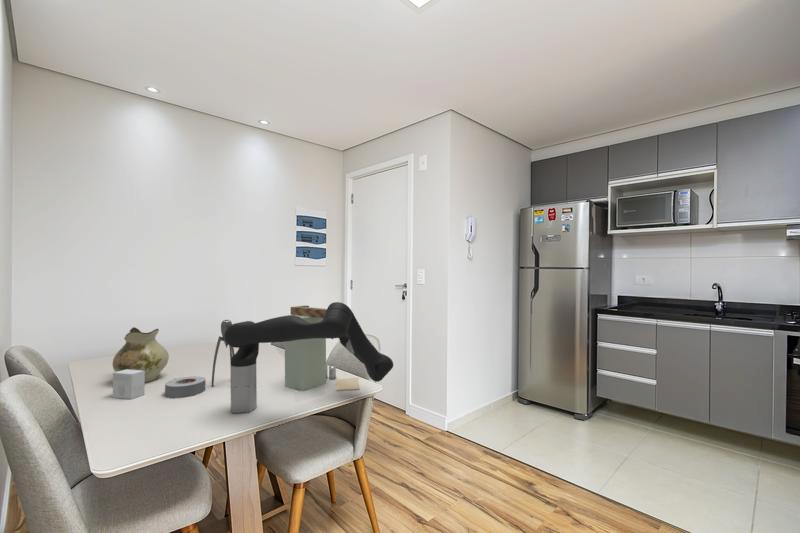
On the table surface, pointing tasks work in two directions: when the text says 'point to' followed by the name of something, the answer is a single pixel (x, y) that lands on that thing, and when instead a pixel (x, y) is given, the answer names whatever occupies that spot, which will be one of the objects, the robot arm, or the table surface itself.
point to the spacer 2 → (332, 372)
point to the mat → (347, 384)
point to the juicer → (224, 326)
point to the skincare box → (128, 384)
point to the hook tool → (308, 311)
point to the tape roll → (184, 387)
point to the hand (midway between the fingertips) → (329, 320)
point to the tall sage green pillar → (305, 361)
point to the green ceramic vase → (141, 354)
